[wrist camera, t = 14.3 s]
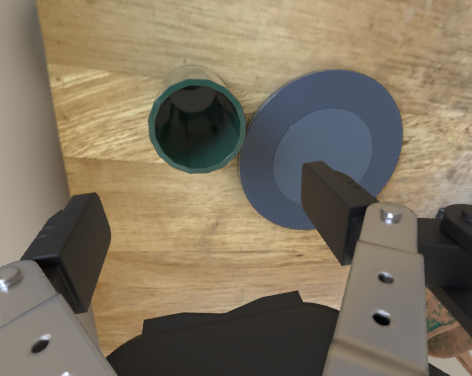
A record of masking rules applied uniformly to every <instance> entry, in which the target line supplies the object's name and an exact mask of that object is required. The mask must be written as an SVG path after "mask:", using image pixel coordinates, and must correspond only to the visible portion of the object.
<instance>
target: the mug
mask: <svg viewBox="0 0 472 376" xmlns="http://www.w3.org/2000/svg"><path fill="white" fill-rule="evenodd" d="M425 298H426V322H427V347H428V356H431V357H434V358H452V357H456V358H457V359H458V361H459V362H460V363H461V364H462V366H463V367H464V368H465V369H466V370H467V372H468V373H469V374H470V375H471V376H472V357H471V355H470V354H469V352H468V351H469V350H471V349H472V338H471V336H470V335H469V334H468V333H467V332H466V331H465V330H464V329H463V327H462V326H461V325H460V324H459V323H458V322H457V321H456V320H455V318H454V317H453V316H452V315H451V314H450V313H449V312H448V310H447V309H446V308H445V307H444V306H443V305H442V304H441V303H440V301H439V300H438V299H437V298H436V297H435V296H434V295H433V294H432V292H431V291H430V290H429V289H428V288H427V287H426V286H425Z"/></svg>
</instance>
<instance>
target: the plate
mask: <svg viewBox="0 0 472 376" xmlns="http://www.w3.org/2000/svg"><path fill="white" fill-rule="evenodd" d="M402 139H403V128H402V120H401V116H400V113H399V109H398V107H397V105H396V103H395V101H394V99H393V98H392V96H391V95H390V93H389V92H388V91H387V90H386V89H385V88H384V87H383V86H382V85H381V84H380V83H378V82H377V81H375V80H374V79H372V78H370V77H368V76H366V75H364V74H361V73H358V72H354V71H350V70H343V69H325V70H319V71H314V72H311V73H308V74H305V75H302V76H300V77H298V78H296V79H293V80H291V81H290V82H288V83H286V84H285V85H283V86H282V87H280V88H279V89H278V90H276V91H275V92H274V93H273V94H272V95H270V96H269V97H268V98H267V100H266V101H265V102H264V103H263V104H262V105H261V106H260V107H259V109H258V110H257V111H256V113H255V114H254V115H253V117H252V119H251V121H250V122H249V124H248V126H247V128H246V132H245V140H244V142H243V144H242V146H241V148H240V151H239V159H238V161H239V176H240V181H241V184H242V187H243V190H244V192H245V194H246V196H247V199H248V200H249V202H250V203H251V205H252V206H253V207H254V208H255V209H256V211H257V212H258V213H259V214H261V215H262V216H263V217H264V218H266V219H267V220H269V221H271V222H273V223H275V224H277V225H280V226H282V227H286V228H290V229H298V230H311V229H316V228H315V226H314V225H313V224H312V222H311V221H310V219H309V218H308V216H307V215H306V213H305V212H304V210H303V208H302V204H301V175H302V165H303V164H304V163H308V162H315V161H324V162H325V163H326V164H327V165H328V166H329V167H331V168H332V169H333V170H334V171H335V170H337V171H340V172H342V173H344V174H347V175H348V176H350V177H351V178H352V179H353V180H354V181H355V183H358V184H359V185H360V186H361V187H362V188H364V189H365V190H366V191H367V192H369V193H370V194H371V195H372V196H373V197H376V196H377V195H378V194H379V193H380V191H381V190H382V189H383V188H384V186H385V185H386V183H387V182H388V180H389V179H390V177H391V175H392V173H393V171H394V169H395V167H396V164H397V162H398V159H399V155H400V152H401V146H402Z"/></svg>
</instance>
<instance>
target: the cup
mask: <svg viewBox="0 0 472 376" xmlns="http://www.w3.org/2000/svg"><path fill="white" fill-rule="evenodd" d="M148 125H149V137H150V140H151V142H152V144H153V146H154V148H155V150H156V152H157V154H158V155H159V156H160V157H161V158H162V159H163V160H164V161H166V162H167V163H168V164H169V165H170V166H171V167H173V168H176V169H178V170H181V171H184V172H187V173H190V174H192V173H209V172H212V171H215V170H217V169H220V168H222V167H224V166H225V165H227V164H228V163H229V162H230V161H231V160H232V159H233V158H234V157H235V156H237V154H238V152H239V150H240V148H241V146H242V144H243V142H244V140H245V132H246V119H245V116H244V113H243V110H242V107H241V104H240V102H239V101H238V100H237V98H236V97H235V96H234V95H233V94H232V92H231V91H230V90H229V89H228V87H227V86H226V85H225V84H224V83H223V81H222V80H221V79H220V78H219V77H218V76H217V75H216V74H215V73H214V72H212V71H211V70H209V69H207V68H205V67H202V66H198V65H187V66H182V67H179V68H177V69H175V70H173V71H172V72H171V73H170V74H169V75H168V76H167V77H166V78H165V79H164V80H163V82H162V84H161V86H160V89H159V91H158V94H157V96H156V99H155V101H154V104H153V107H152V110H151V113H150V115H149V118H148Z"/></svg>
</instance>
